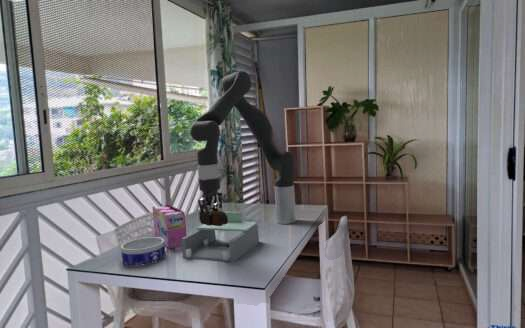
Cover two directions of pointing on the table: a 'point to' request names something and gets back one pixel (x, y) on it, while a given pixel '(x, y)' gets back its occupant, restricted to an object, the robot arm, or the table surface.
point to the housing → (200, 249)
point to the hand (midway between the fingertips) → (212, 223)
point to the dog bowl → (143, 250)
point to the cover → (231, 223)
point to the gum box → (169, 225)
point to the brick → (215, 218)
